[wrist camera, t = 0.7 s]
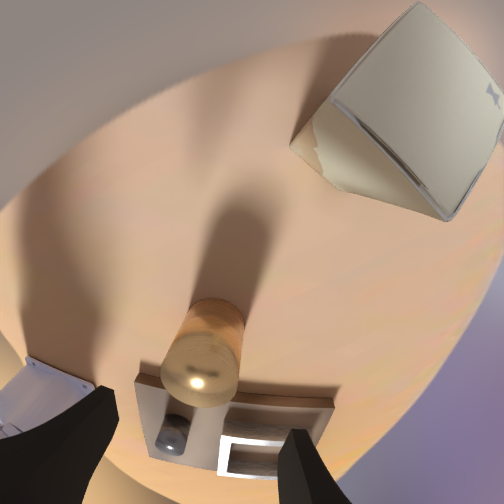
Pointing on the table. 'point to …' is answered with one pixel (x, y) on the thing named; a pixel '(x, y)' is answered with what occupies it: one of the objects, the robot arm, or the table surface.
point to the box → (408, 120)
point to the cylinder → (205, 355)
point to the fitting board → (226, 429)
